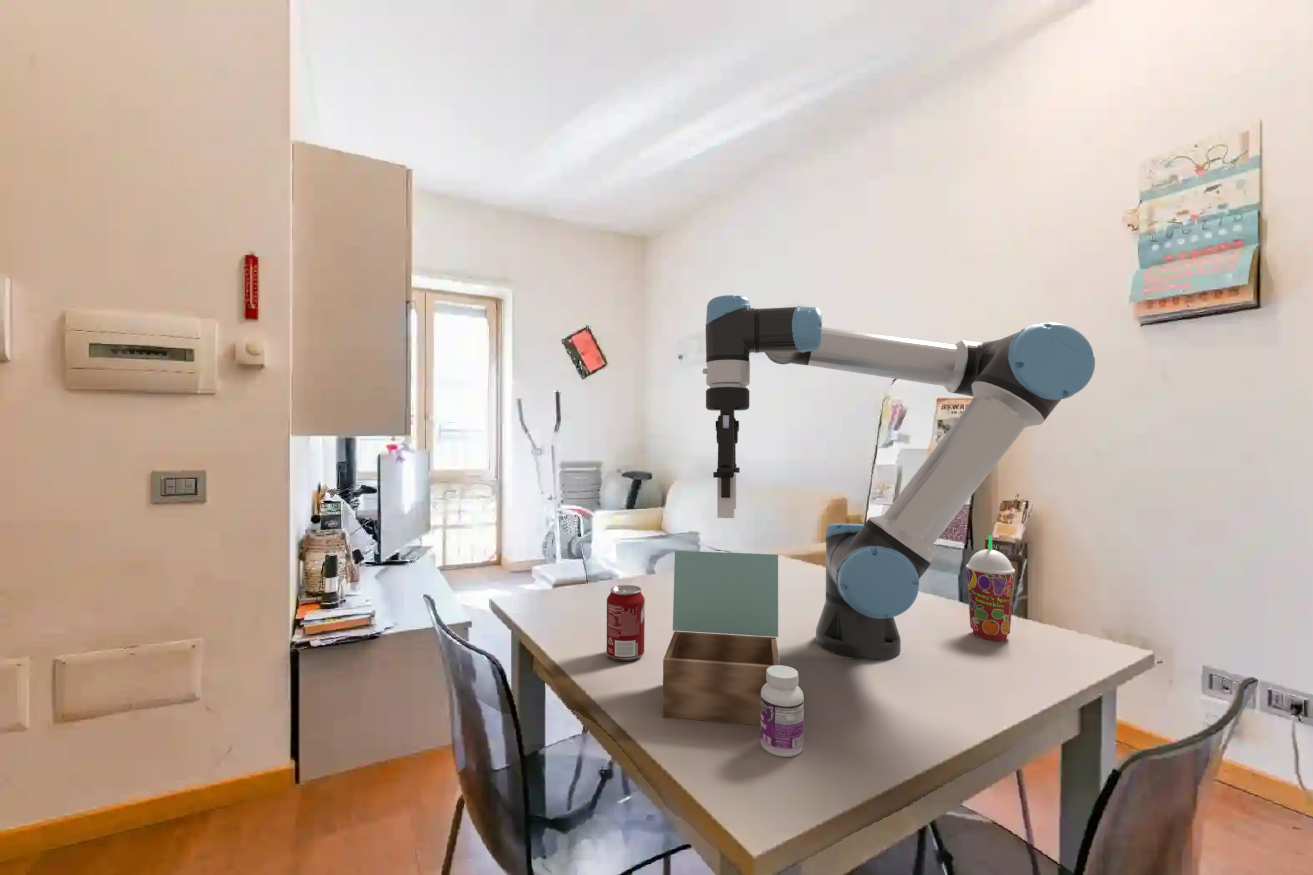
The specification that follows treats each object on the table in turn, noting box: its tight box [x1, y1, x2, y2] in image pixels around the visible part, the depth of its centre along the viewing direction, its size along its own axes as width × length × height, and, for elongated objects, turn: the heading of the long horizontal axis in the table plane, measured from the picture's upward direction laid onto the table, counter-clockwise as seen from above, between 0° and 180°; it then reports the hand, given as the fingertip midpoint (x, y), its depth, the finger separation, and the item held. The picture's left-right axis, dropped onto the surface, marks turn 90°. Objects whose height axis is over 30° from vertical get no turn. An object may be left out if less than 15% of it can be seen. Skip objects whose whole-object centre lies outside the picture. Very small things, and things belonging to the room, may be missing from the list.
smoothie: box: [965, 535, 1016, 642], centre depth 114 cm, size 8×8×20 cm
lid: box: [672, 550, 779, 638], centre depth 93 cm, size 17×13×1 cm
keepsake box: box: [662, 631, 780, 726], centre depth 85 cm, size 16×12×8 cm
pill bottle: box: [760, 664, 805, 758], centre depth 73 cm, size 5×5×10 cm
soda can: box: [605, 584, 646, 662], centre depth 103 cm, size 7×7×12 cm
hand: (727, 513), depth 100 cm, fingers open, 11 cm apart
